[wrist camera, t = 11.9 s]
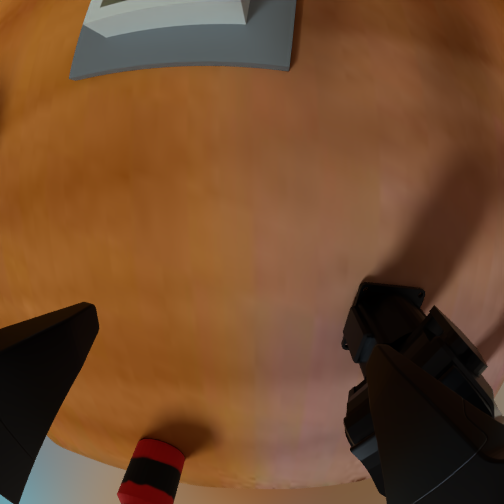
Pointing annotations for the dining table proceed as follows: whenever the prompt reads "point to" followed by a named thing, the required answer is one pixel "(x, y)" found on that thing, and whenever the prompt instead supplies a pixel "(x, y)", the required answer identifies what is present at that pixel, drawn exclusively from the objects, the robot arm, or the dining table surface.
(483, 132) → the dining table surface
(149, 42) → the holder
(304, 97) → the dining table surface
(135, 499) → the soda can
